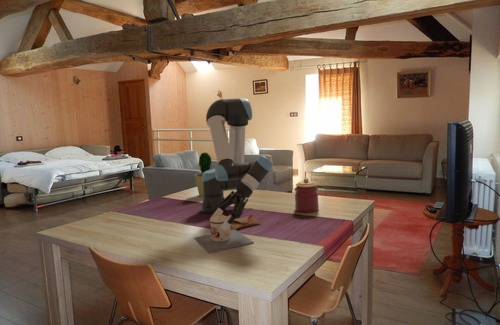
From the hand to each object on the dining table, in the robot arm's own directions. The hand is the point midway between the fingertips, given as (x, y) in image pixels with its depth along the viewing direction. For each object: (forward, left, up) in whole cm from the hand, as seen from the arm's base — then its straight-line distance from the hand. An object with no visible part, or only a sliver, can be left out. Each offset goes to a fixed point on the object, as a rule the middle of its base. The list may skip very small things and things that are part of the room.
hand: (217, 225), depth 162 cm
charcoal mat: (0, +2, -8) cm, 8 cm away
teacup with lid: (0, +2, -7) cm, 8 cm away
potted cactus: (-90, +26, -8) cm, 94 cm away
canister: (-21, +60, -8) cm, 64 cm away
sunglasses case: (-15, +18, -8) cm, 25 cm away
